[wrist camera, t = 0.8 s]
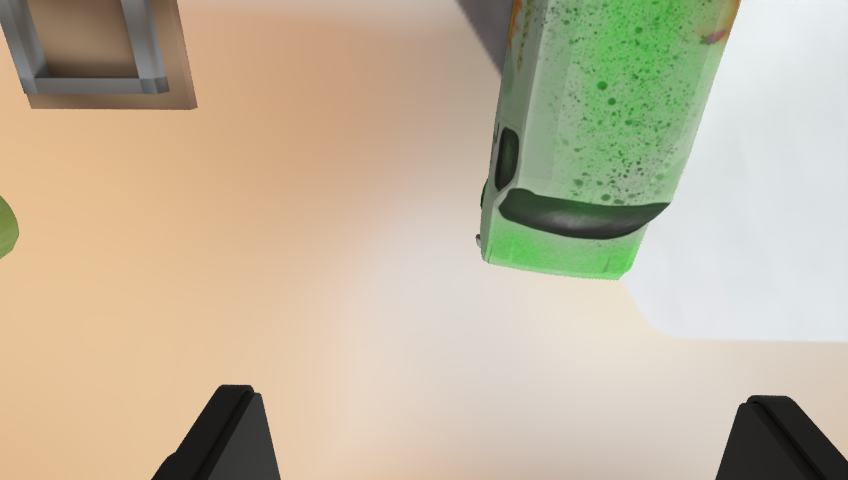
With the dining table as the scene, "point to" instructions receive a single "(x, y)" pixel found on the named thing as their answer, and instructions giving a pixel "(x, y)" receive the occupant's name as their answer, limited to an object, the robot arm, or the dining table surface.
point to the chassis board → (99, 53)
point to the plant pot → (7, 228)
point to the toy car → (595, 128)
